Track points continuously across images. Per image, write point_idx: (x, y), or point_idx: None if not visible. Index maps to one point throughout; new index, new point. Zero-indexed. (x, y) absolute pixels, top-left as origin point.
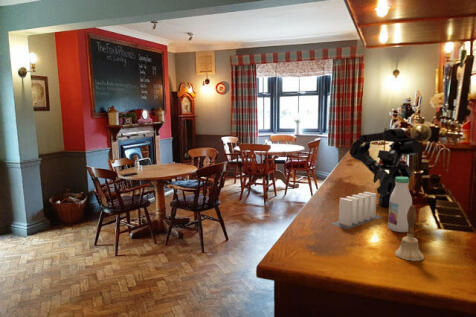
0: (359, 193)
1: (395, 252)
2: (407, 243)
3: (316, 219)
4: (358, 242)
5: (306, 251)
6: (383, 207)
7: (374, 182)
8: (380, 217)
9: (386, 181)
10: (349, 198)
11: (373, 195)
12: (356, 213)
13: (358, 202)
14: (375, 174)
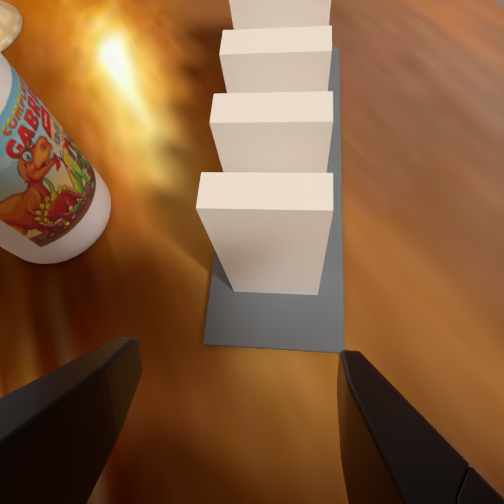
0: (327, 105)
1: (16, 10)
2: None
3: (438, 53)
4: (147, 3)
5: None
6: None
7: (340, 370)
8: (209, 314)
9: (81, 359)
10: None
11: (213, 178)
12: None
13: (233, 17)
14: (420, 464)
